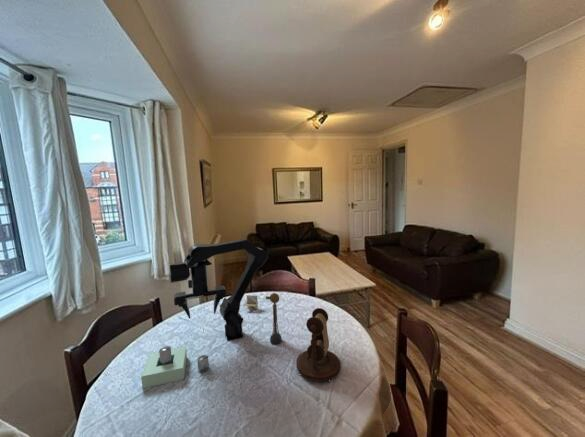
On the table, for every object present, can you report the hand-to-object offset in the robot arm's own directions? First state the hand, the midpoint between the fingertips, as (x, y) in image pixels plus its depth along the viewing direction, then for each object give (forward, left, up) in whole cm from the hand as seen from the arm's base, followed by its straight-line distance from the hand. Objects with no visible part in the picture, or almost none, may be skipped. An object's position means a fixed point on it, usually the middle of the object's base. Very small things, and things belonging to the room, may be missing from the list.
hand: (202, 315), depth 103 cm
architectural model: (-23, -24, -13) cm, 35 cm away
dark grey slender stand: (-27, +8, -12) cm, 31 cm away
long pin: (+12, +13, -12) cm, 21 cm away
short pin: (0, +16, -12) cm, 20 cm away
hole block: (+12, +13, -12) cm, 21 cm away
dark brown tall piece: (-37, +29, -12) cm, 48 cm away
